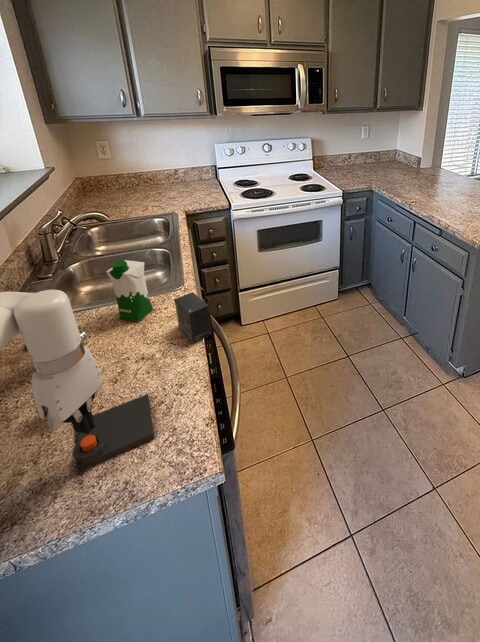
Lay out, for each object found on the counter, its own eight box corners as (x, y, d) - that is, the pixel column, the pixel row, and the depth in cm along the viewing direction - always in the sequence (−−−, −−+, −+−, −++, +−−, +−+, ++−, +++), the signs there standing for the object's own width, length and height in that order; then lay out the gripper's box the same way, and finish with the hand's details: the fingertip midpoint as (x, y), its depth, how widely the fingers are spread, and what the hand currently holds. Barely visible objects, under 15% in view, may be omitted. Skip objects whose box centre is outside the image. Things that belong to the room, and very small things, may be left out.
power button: (81, 454, 71) (79, 449, 70) (82, 443, 73) (80, 438, 72) (96, 448, 72) (95, 442, 72) (97, 437, 74) (95, 432, 74)
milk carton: (115, 320, 115) (101, 266, 109) (136, 304, 124) (123, 252, 117) (138, 324, 113) (125, 269, 106) (157, 308, 121) (146, 255, 115)
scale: (75, 474, 70) (72, 463, 69) (79, 425, 80) (76, 415, 79) (154, 438, 77) (152, 428, 76) (149, 398, 87) (146, 388, 86)
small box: (213, 333, 108) (209, 304, 105) (193, 344, 104) (188, 314, 101) (197, 318, 116) (193, 290, 112) (178, 327, 111) (172, 299, 108)
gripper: (79, 326, 72) (101, 395, 79) (0, 384, 59) (34, 461, 65) (109, 331, 71) (129, 401, 77) (34, 392, 57) (66, 471, 63)
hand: (85, 429), depth 71 cm, fingers closed
